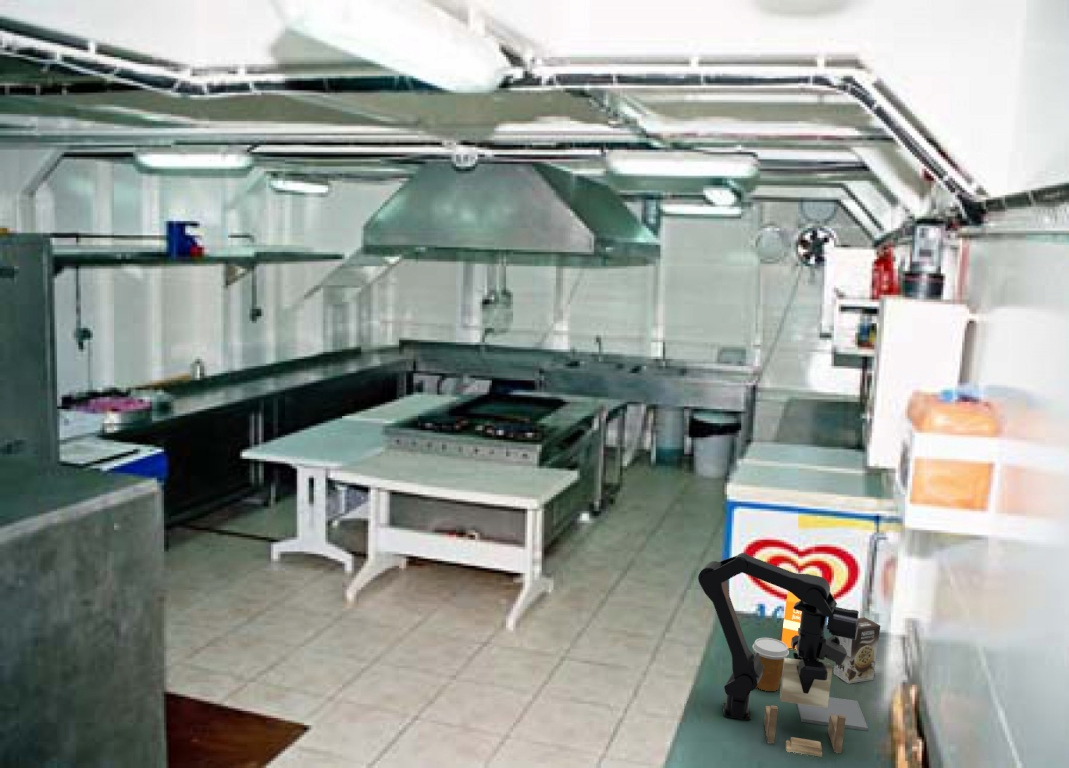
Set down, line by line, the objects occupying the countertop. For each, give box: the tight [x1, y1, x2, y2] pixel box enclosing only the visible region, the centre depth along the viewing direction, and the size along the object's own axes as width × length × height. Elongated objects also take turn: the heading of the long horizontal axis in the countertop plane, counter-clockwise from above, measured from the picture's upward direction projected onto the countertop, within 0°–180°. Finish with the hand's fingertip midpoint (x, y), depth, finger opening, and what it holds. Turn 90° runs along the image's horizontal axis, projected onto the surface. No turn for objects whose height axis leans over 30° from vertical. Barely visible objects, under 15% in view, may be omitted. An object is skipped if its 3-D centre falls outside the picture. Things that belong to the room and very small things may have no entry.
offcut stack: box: [785, 736, 823, 758], centre depth 218 cm, size 4×8×2 cm, turn 78°
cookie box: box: [833, 617, 881, 685], centre depth 257 cm, size 9×6×16 cm
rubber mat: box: [796, 696, 869, 732], centre depth 237 cm, size 14×16×1 cm
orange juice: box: [781, 590, 802, 649], centre depth 275 cm, size 8×9×20 cm
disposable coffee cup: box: [752, 637, 790, 692], centre depth 248 cm, size 10×10×12 cm
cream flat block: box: [779, 657, 833, 708], centre depth 226 cm, size 3×11×10 cm, turn 81°
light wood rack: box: [763, 705, 846, 754], centre depth 223 cm, size 10×17×9 cm, turn 81°
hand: (804, 689), depth 226 cm, fingers closed on cream flat block, 3 cm apart
